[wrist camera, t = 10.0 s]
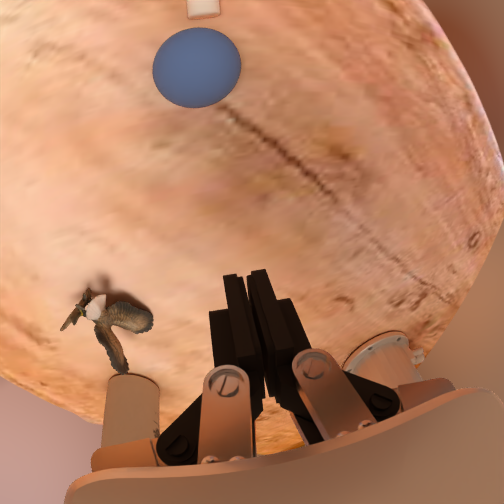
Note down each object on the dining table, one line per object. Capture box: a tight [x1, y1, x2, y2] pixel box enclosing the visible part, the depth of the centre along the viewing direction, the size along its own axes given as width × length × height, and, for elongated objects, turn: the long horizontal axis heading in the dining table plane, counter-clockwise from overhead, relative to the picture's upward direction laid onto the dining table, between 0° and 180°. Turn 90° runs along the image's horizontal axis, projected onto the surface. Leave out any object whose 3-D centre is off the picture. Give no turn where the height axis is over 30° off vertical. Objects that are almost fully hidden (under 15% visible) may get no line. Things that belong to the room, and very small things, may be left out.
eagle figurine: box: [60, 288, 153, 375], centre depth 27 cm, size 8×7×9 cm
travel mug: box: [101, 375, 160, 448], centre depth 30 cm, size 8×8×18 cm
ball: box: [153, 28, 241, 108], centre depth 16 cm, size 6×6×6 cm
